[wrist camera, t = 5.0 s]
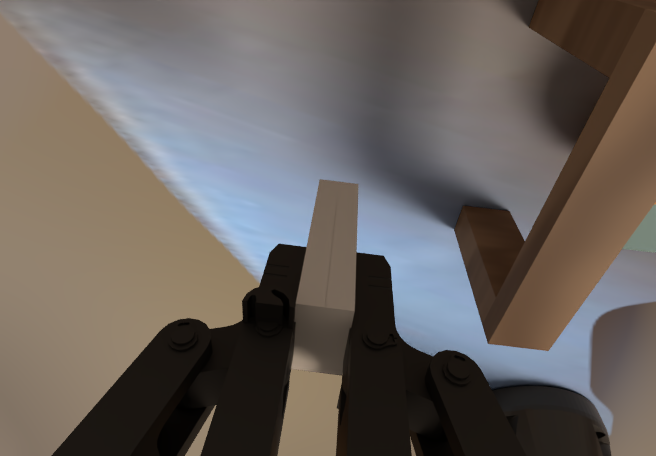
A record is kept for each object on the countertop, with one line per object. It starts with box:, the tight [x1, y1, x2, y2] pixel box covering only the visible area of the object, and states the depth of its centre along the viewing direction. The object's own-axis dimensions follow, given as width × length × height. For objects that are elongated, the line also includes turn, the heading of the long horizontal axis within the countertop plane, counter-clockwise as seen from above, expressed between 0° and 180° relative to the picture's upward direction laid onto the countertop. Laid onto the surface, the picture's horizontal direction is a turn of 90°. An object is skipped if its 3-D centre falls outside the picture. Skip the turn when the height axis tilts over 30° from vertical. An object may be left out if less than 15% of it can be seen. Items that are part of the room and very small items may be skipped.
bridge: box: [454, 0, 656, 351], centre depth 19 cm, size 3×14×9 cm, turn 175°
